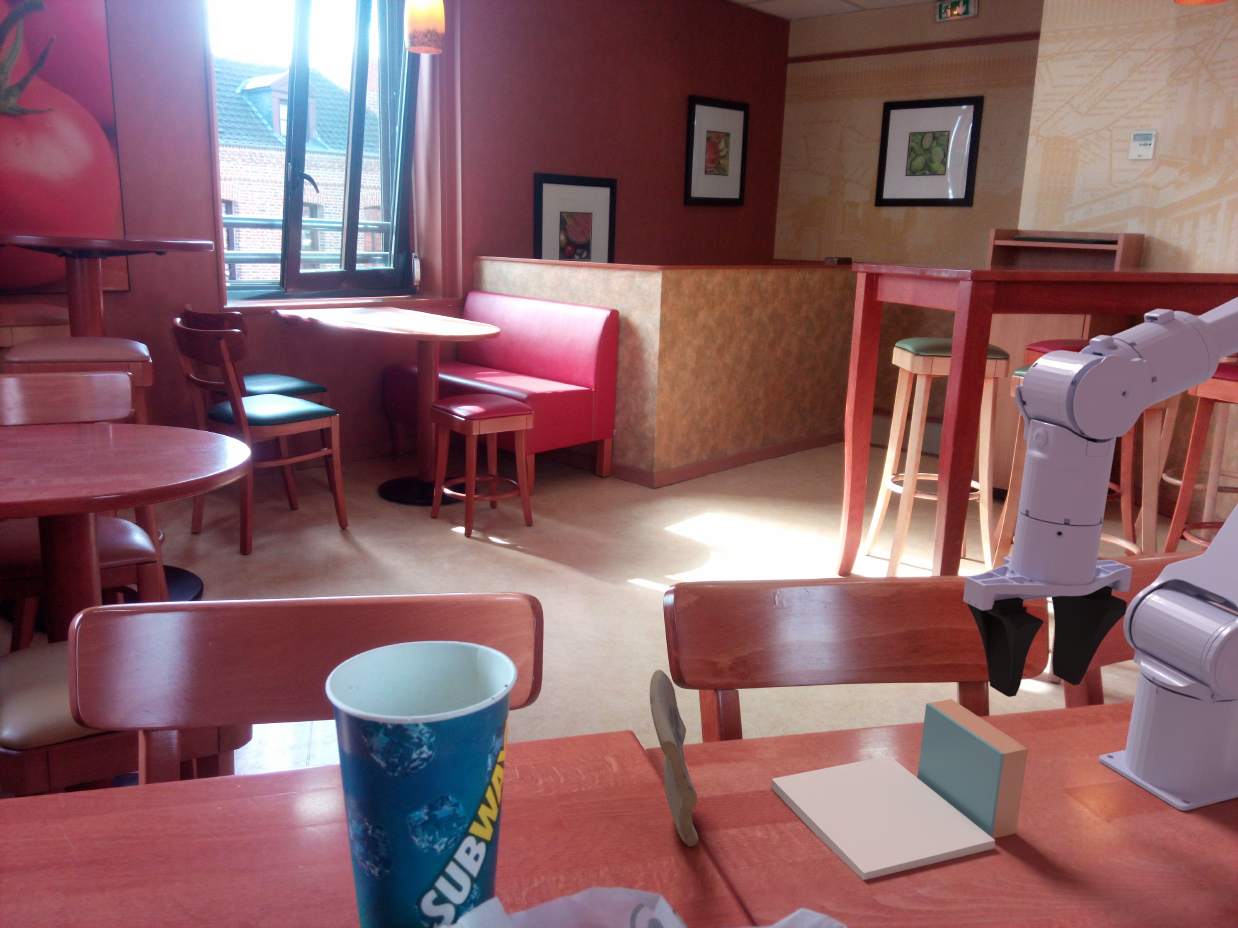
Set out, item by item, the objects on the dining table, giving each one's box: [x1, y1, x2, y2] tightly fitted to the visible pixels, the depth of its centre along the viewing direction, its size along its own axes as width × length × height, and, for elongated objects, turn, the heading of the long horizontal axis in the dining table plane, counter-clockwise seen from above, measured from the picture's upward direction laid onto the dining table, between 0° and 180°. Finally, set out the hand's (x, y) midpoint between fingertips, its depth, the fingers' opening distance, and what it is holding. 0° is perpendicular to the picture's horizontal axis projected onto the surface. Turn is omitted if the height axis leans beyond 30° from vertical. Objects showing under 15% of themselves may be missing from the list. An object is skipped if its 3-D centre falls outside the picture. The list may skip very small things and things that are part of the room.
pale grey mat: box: [770, 755, 996, 881], centre depth 69 cm, size 11×12×1 cm
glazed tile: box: [916, 698, 1029, 840], centre depth 70 cm, size 2×8×7 cm, turn 21°
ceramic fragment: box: [649, 669, 699, 848], centre depth 68 cm, size 11×3×10 cm, turn 1°
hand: (1035, 684), depth 71 cm, fingers open, 6 cm apart
